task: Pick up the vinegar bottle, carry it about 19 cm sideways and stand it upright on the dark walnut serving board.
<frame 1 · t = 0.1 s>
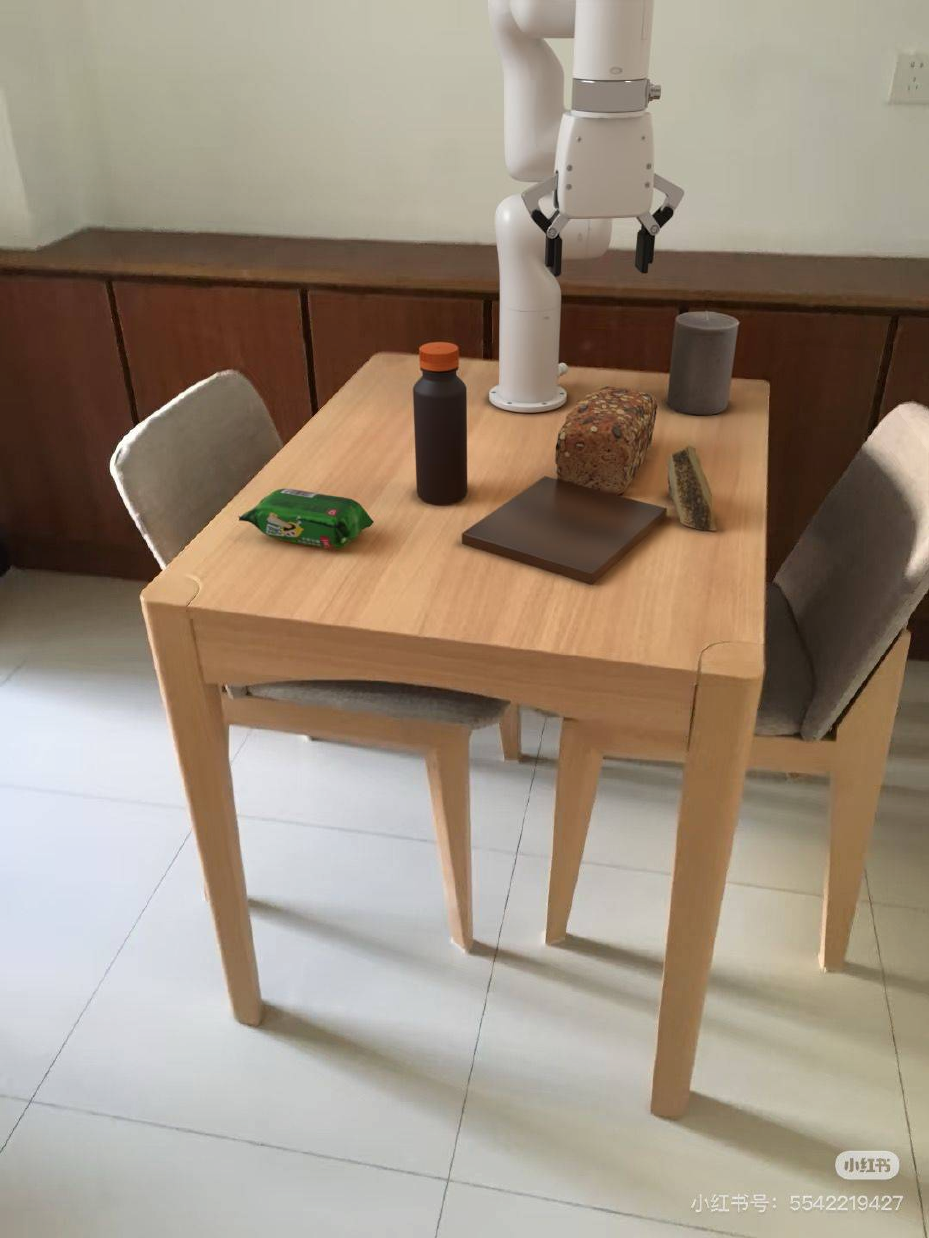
hand: (598, 272, 113), 31 cm above the table, tool pointing down, fingers open, 9 cm apart
serving board: (566, 531, 128), on the table
rock: (690, 512, 133), on the table
pillar candle: (697, 406, 165), on the table
snack package: (308, 538, 127), on the table
vinegar: (442, 496, 137), on the table
bread: (604, 468, 144), on the table
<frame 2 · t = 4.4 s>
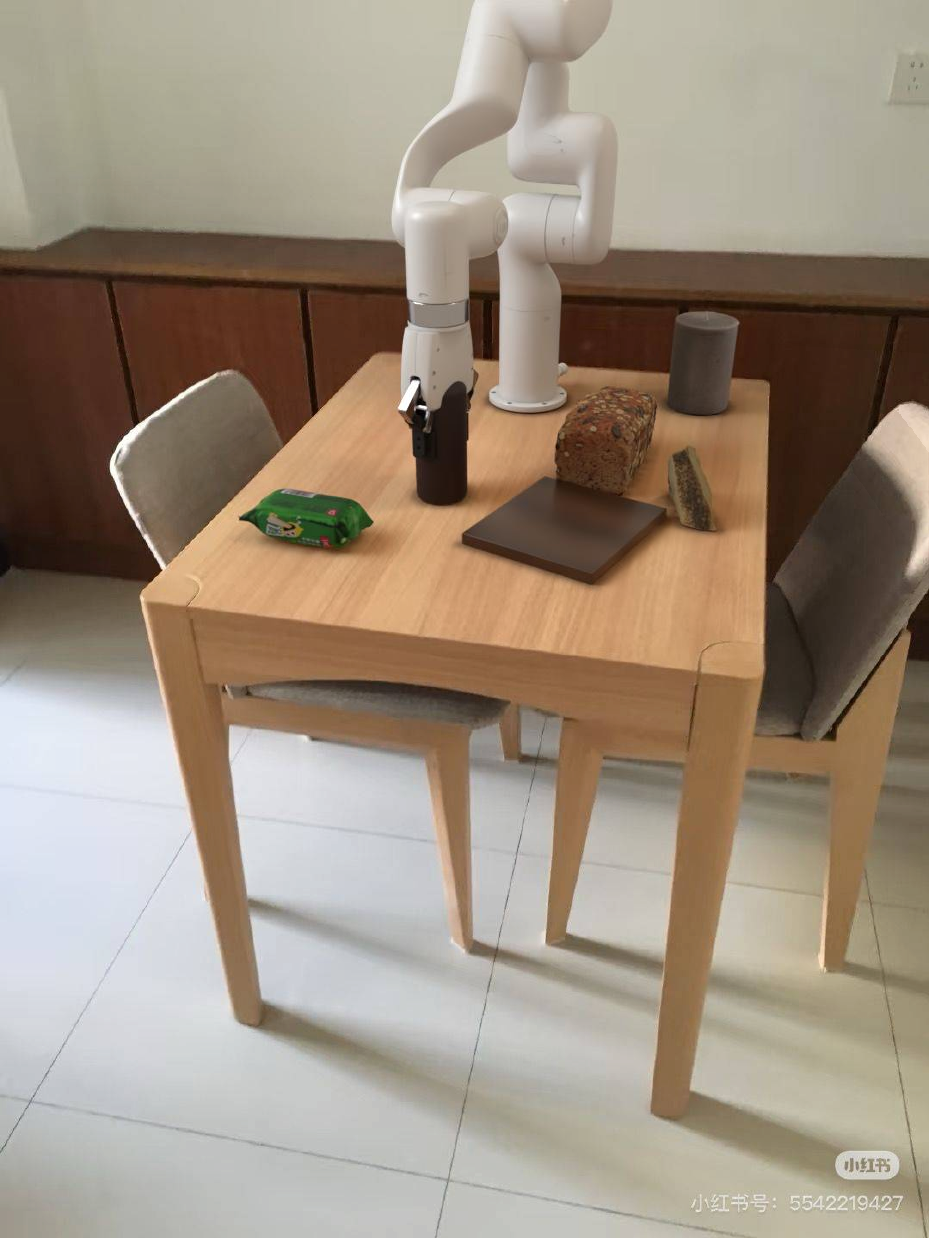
hand: (441, 448, 133), 7 cm above the table, tool pointing down, fingers closed on vinegar, 6 cm apart
vinegar: (442, 496, 137), on the table, touching gripper
everything else where it was.
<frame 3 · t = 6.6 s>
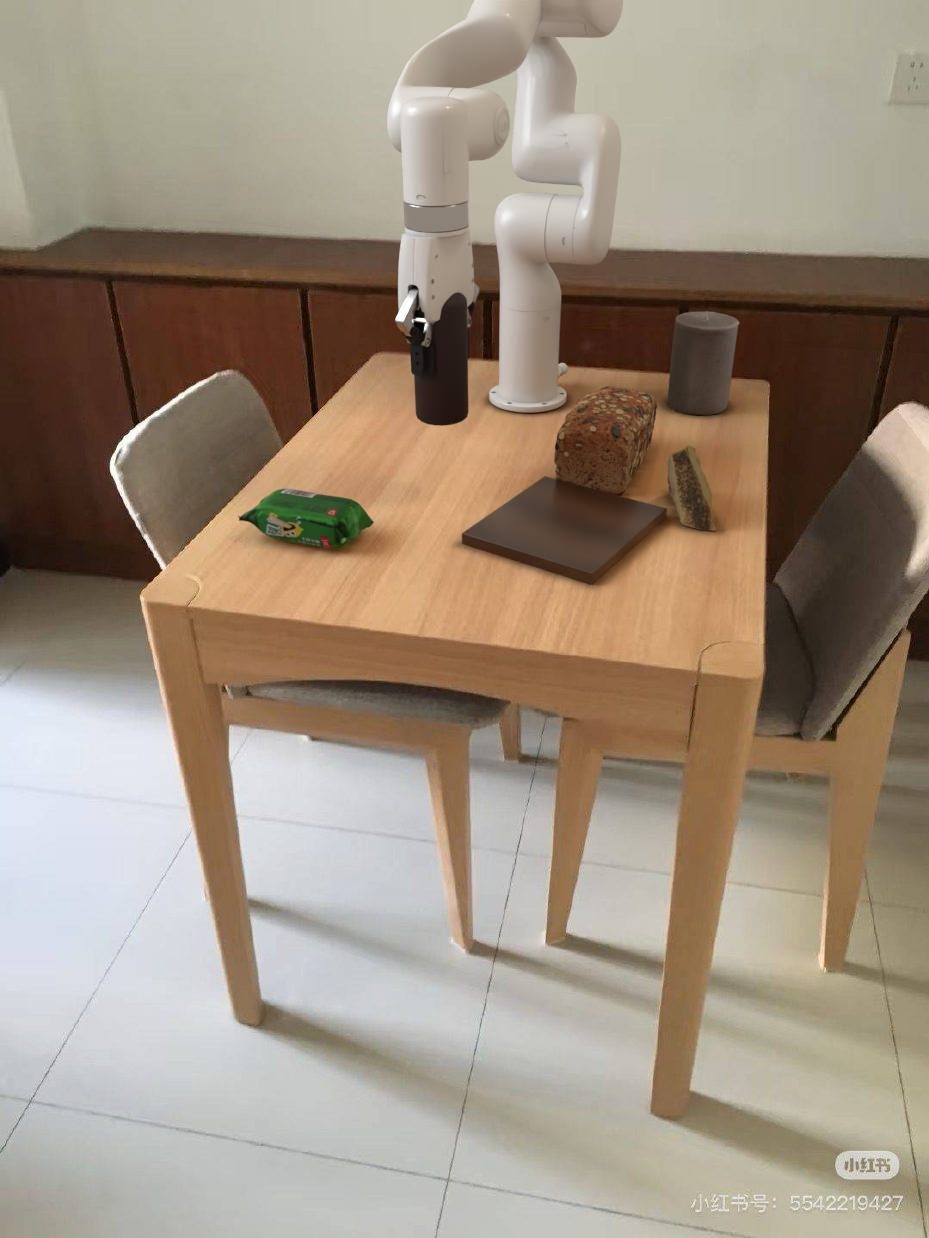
hand: (440, 365, 128), 18 cm above the table, tool pointing down, fingers closed on vinegar, 6 cm apart
vinegar: (442, 418, 132), point 11 cm above the table, touching gripper
everything else where it was.
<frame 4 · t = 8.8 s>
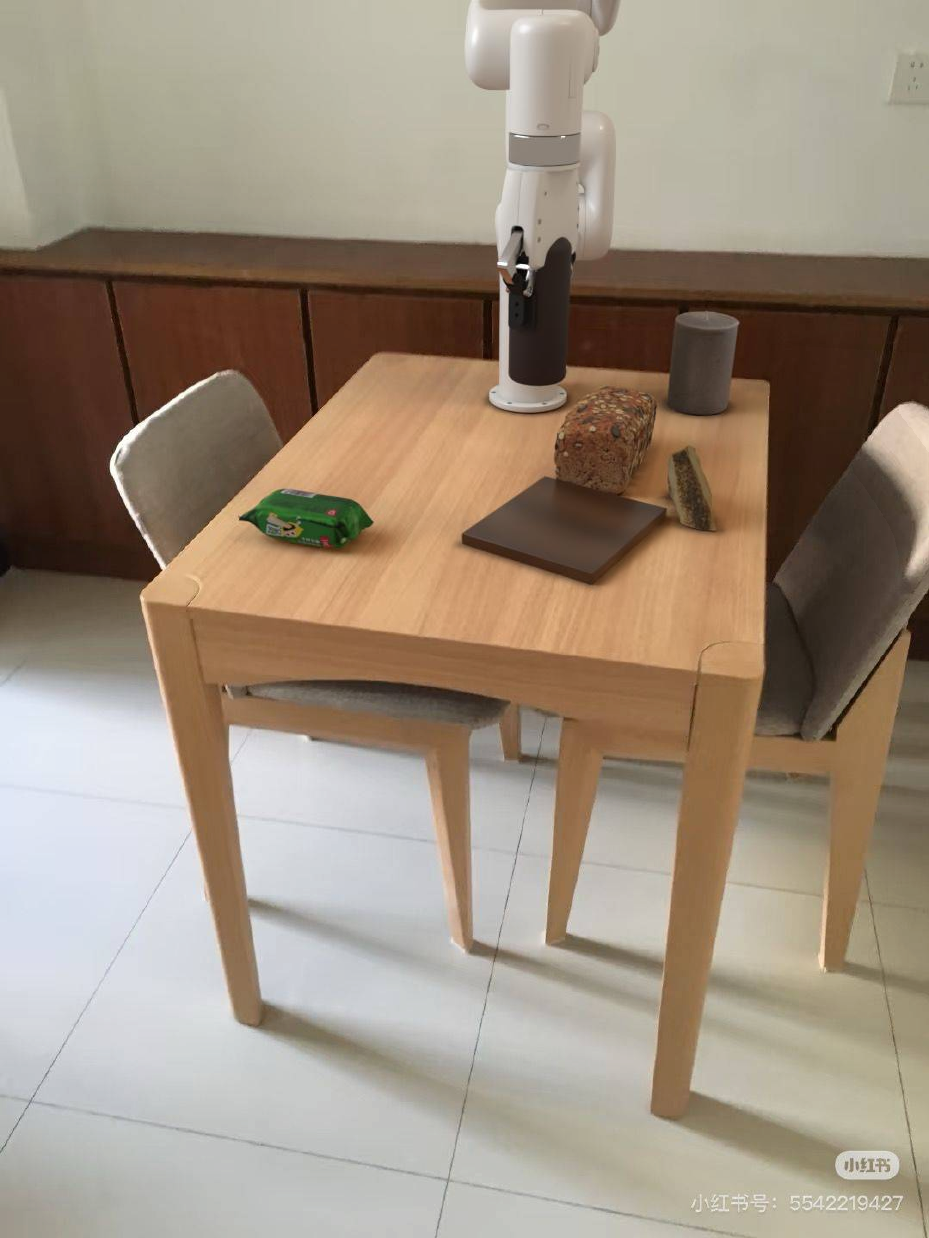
hand: (539, 320, 117), 26 cm above the table, tool pointing down, fingers closed on vinegar, 6 cm apart
vinegar: (537, 379, 120), point 19 cm above the table, touching gripper
everything else where it was.
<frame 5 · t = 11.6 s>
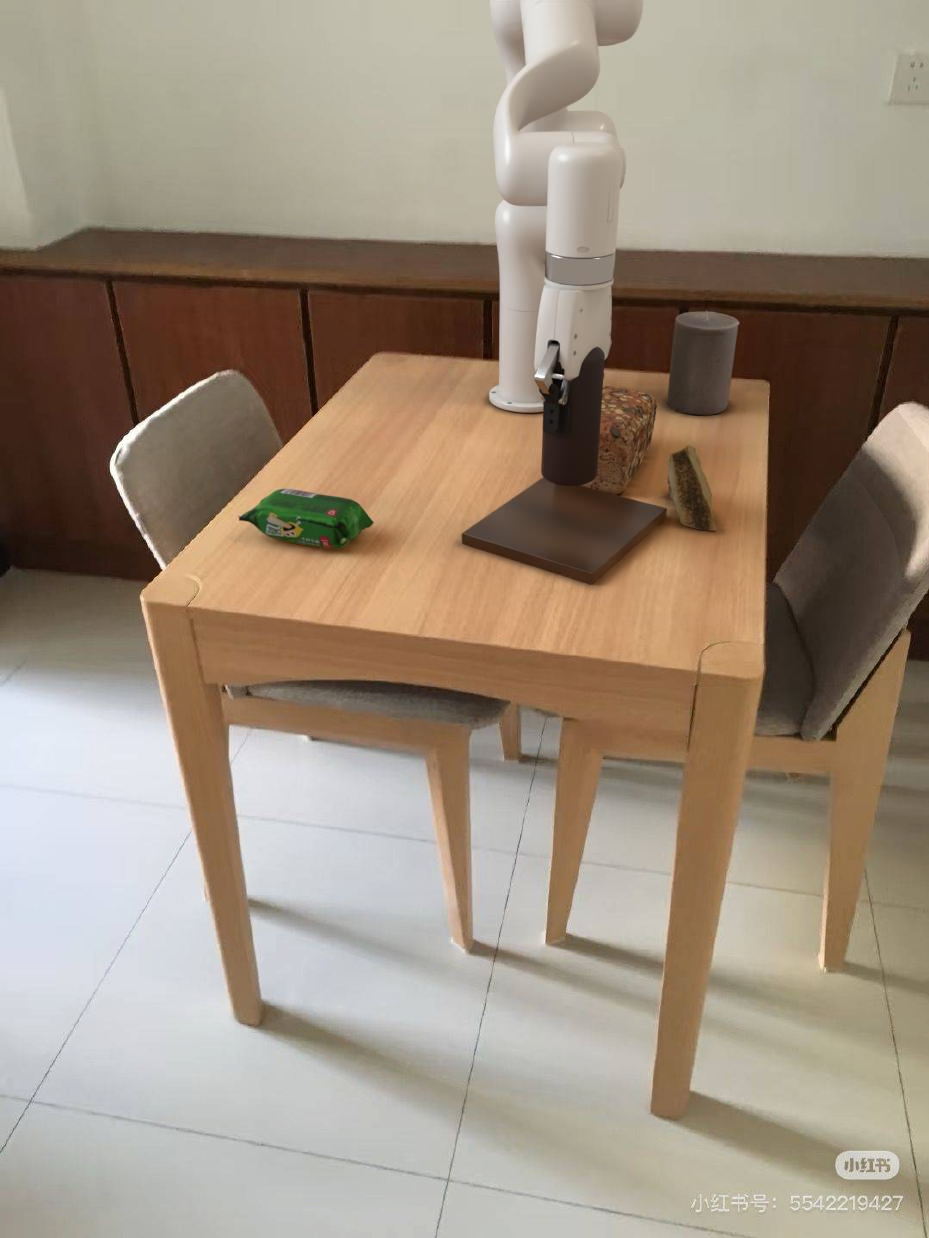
hand: (571, 422, 120), 14 cm above the table, tool pointing down, fingers closed on vinegar, 6 cm apart
vinegar: (568, 476, 124), point 7 cm above the table, touching gripper
everything else where it was.
when the fingers open (8 cm above the table, at t = 13.6 s): vinegar stays where it is, resting on serving board.
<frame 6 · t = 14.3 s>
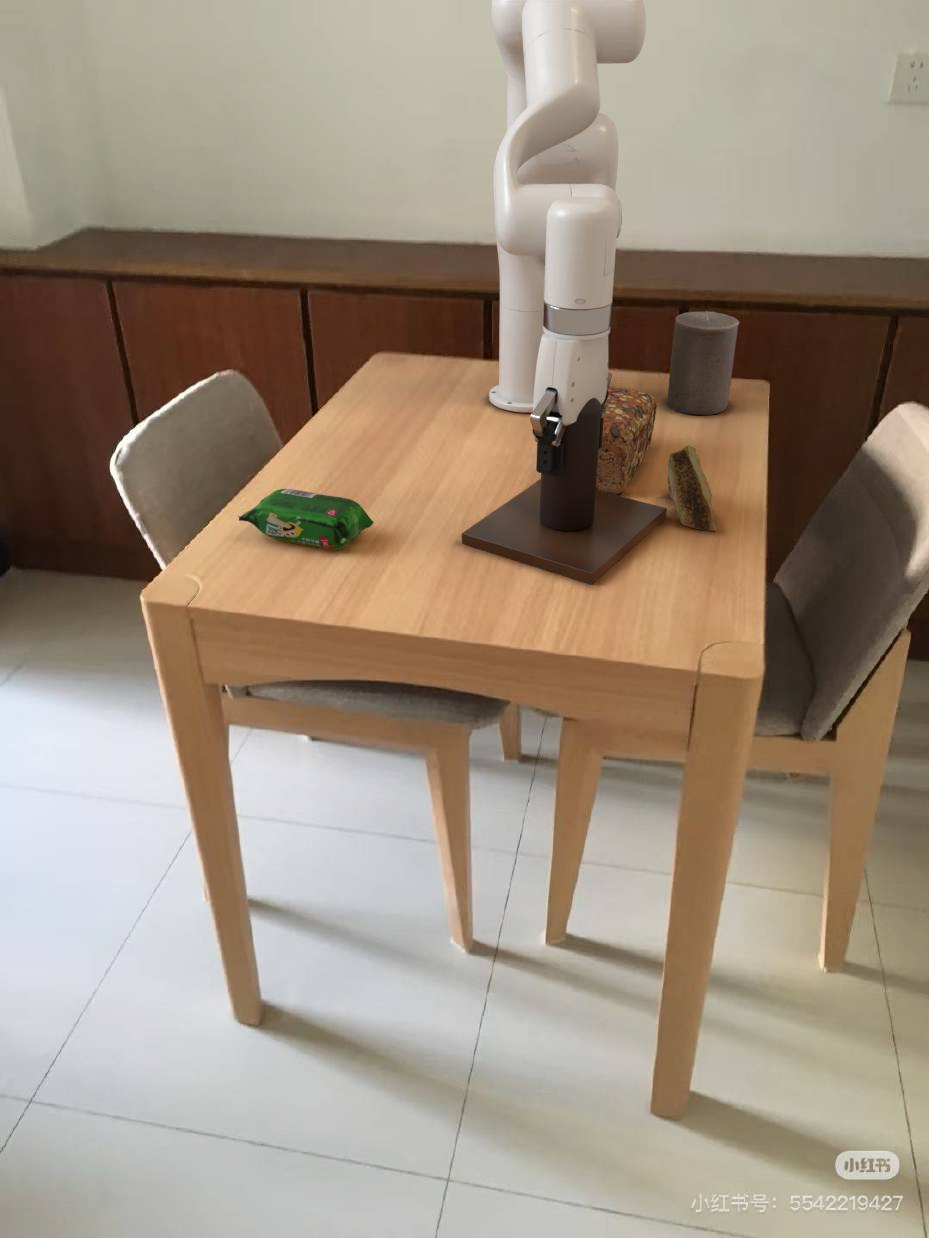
hand: (569, 460, 123), 10 cm above the table, tool pointing down, fingers open, 9 cm apart
vinegar: (566, 521, 127), point 1 cm above the table, touching serving board
everything else where it was.
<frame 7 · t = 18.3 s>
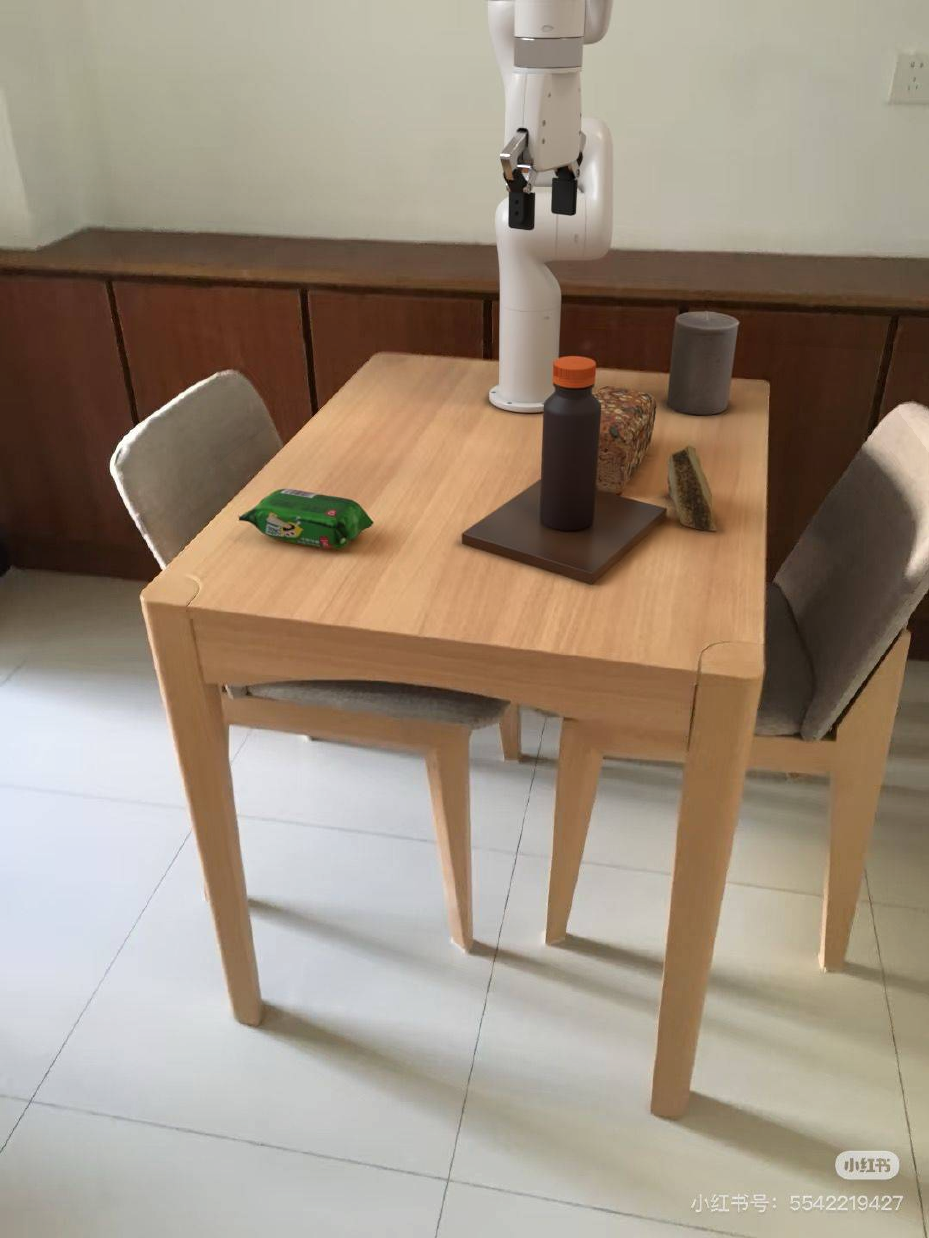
hand: (542, 221, 121), 34 cm above the table, tool pointing down, fingers open, 9 cm apart
nothing on the table moved.
at the end: vinegar inside the target area on the serving board (0.1 cm from its centre), point 1.3 cm above the serving board's base; vinegar tilted 0°; vinegar moved 19.0 cm from its start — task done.
